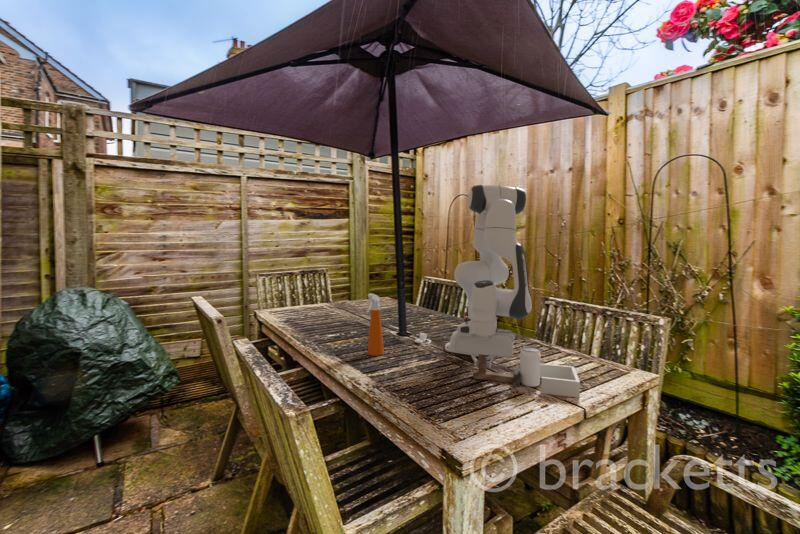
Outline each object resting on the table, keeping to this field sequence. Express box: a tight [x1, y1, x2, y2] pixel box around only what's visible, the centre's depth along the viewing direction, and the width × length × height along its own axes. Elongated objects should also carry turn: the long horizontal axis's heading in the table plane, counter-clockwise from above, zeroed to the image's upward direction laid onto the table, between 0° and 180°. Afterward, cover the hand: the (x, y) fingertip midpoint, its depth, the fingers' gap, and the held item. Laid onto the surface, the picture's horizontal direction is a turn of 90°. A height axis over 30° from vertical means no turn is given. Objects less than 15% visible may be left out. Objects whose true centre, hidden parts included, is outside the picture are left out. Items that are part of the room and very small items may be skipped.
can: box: [519, 345, 542, 388], centre depth 124 cm, size 6×6×12 cm
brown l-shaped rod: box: [472, 354, 521, 388], centre depth 128 cm, size 16×8×9 cm, turn 71°
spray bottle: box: [365, 292, 385, 357], centre depth 154 cm, size 7×11×26 cm, turn 155°
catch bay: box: [540, 362, 581, 399], centre depth 122 cm, size 11×14×5 cm
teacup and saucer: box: [414, 332, 432, 345], centre depth 174 cm, size 9×8×4 cm
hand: (482, 366), depth 129 cm, fingers open, 3 cm apart
